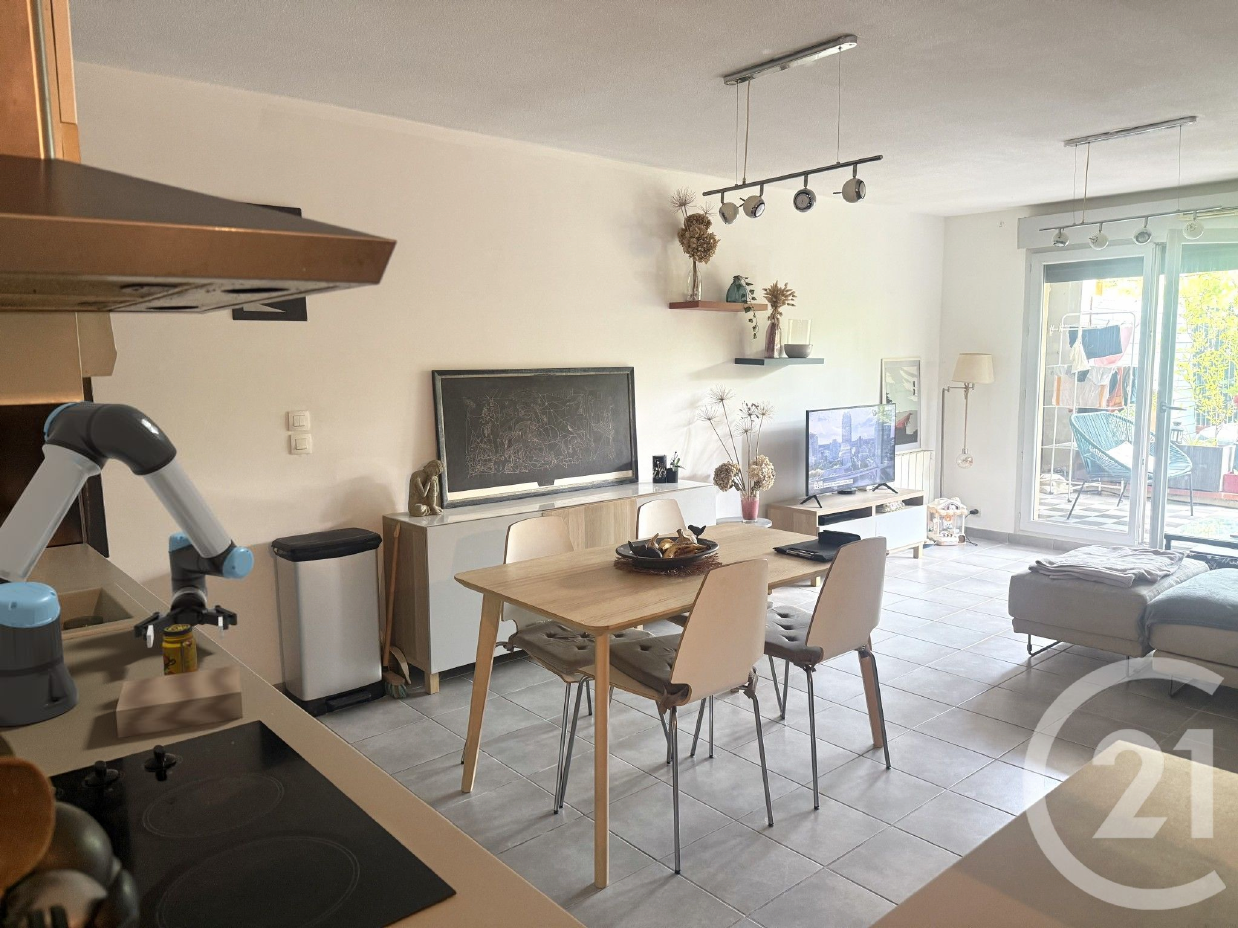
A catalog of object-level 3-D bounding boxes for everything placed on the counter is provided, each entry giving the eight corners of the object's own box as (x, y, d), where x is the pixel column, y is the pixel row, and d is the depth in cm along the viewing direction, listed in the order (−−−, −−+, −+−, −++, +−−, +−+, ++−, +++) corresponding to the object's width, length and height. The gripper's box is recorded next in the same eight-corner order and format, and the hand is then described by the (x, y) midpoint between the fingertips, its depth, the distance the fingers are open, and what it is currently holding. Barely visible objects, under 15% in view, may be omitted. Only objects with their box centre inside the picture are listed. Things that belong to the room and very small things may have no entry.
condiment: (155, 688, 173) (150, 630, 171) (189, 673, 181) (185, 617, 179) (183, 693, 171) (178, 635, 169) (216, 677, 178) (212, 621, 177)
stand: (118, 737, 152) (115, 710, 151) (125, 706, 164) (123, 681, 164) (242, 717, 160) (241, 691, 159) (240, 689, 173) (239, 665, 172)
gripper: (247, 615, 208) (250, 644, 189) (128, 630, 198) (119, 662, 179) (245, 585, 207) (248, 611, 188) (126, 598, 197) (116, 627, 178)
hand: (185, 636), depth 183 cm, fingers open, 13 cm apart
